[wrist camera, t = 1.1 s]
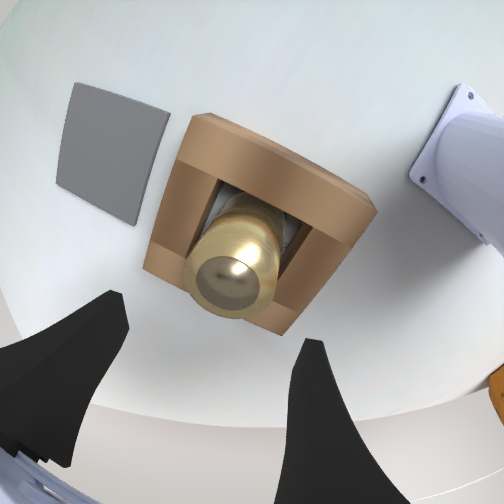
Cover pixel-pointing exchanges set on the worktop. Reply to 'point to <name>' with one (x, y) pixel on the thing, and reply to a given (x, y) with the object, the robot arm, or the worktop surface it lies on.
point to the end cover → (237, 259)
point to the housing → (269, 190)
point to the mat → (109, 149)
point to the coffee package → (497, 392)
